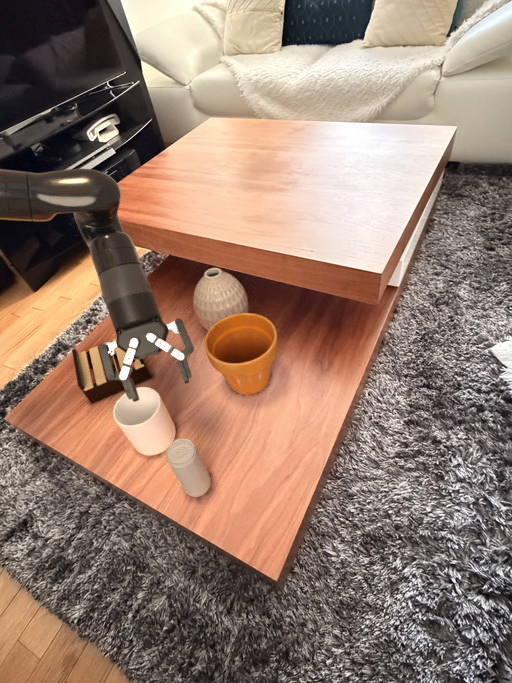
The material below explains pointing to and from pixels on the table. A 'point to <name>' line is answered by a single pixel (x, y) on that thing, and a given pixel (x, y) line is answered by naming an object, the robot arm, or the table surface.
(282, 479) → the table surface
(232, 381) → the flower pot
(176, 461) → the beverage can
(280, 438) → the table surface
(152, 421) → the mug
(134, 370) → the rack
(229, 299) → the vase
